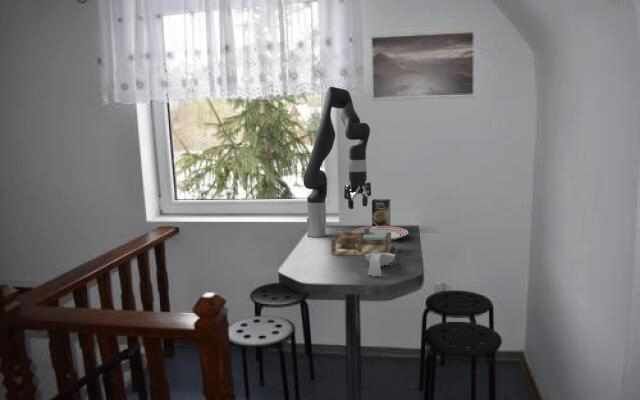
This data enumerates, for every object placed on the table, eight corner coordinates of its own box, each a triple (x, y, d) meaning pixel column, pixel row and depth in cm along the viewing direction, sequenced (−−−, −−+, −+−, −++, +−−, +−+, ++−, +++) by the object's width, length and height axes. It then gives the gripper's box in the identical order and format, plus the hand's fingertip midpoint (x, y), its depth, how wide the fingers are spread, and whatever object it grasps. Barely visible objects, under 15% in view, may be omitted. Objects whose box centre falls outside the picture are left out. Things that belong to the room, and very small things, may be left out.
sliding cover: (363, 239, 207) (362, 231, 206) (367, 231, 222) (367, 224, 222) (384, 239, 205) (384, 231, 204) (387, 231, 220) (387, 224, 220)
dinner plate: (407, 244, 228) (407, 237, 227) (348, 243, 233) (348, 236, 233) (409, 232, 254) (408, 226, 254) (355, 232, 260) (355, 225, 259)
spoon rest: (367, 260, 202) (366, 243, 201) (396, 261, 200) (395, 243, 199) (359, 277, 179) (358, 257, 178) (392, 278, 177) (391, 258, 176)
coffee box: (371, 230, 261) (371, 200, 259) (374, 228, 268) (373, 198, 265) (388, 231, 259) (388, 200, 257) (390, 228, 265) (390, 198, 263)
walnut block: (341, 251, 215) (341, 237, 214) (343, 248, 220) (343, 235, 219) (353, 251, 214) (353, 238, 213) (354, 249, 219) (354, 235, 218)
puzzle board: (331, 255, 210) (331, 239, 209) (338, 247, 226) (337, 231, 225) (388, 257, 205) (388, 240, 204) (391, 247, 221) (391, 232, 220)
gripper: (362, 168, 220) (363, 204, 222) (339, 170, 210) (340, 208, 213) (375, 169, 214) (375, 206, 217) (352, 172, 205) (352, 210, 207)
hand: (358, 207), depth 215 cm, fingers open, 8 cm apart
